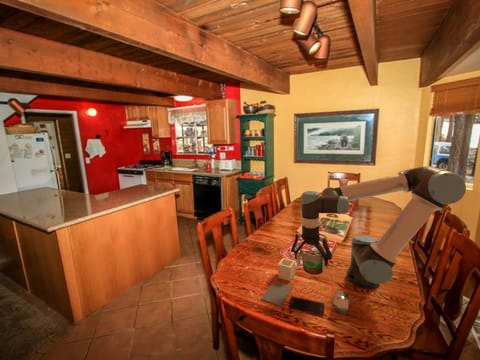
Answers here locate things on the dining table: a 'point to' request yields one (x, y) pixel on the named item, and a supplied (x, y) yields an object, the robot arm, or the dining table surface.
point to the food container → (312, 262)
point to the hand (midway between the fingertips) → (311, 268)
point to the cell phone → (307, 306)
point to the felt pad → (277, 293)
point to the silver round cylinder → (341, 302)
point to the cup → (286, 269)
